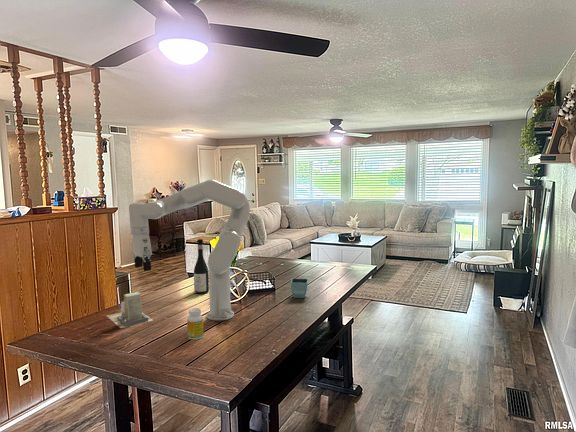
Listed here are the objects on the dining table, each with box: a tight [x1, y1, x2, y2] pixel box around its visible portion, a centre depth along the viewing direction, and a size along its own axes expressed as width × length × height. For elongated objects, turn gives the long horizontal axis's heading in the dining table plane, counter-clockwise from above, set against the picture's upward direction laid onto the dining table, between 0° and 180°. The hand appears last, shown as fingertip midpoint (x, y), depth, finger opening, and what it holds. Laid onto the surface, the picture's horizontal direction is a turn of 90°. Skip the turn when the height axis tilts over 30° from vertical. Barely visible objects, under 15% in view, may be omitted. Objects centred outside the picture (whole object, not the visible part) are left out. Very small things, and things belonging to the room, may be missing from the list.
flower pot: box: [290, 278, 309, 299], centre depth 213 cm, size 9×9×9 cm
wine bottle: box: [193, 238, 209, 295], centre depth 222 cm, size 8×8×30 cm
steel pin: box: [120, 300, 125, 316], centre depth 184 cm, size 3×3×6 cm
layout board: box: [106, 311, 153, 329], centre depth 180 cm, size 20×14×3 cm
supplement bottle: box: [186, 307, 205, 341], centre depth 161 cm, size 6×6×11 cm
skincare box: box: [123, 291, 143, 322], centre depth 175 cm, size 6×4×12 cm
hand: (143, 268), depth 177 cm, fingers open, 9 cm apart
